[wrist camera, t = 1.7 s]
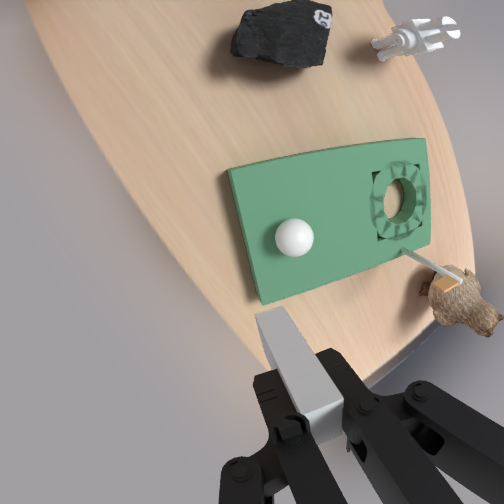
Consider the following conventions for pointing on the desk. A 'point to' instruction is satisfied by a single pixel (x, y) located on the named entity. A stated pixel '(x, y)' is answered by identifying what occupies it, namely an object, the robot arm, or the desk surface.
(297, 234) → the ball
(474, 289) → the figurine
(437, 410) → the robot arm
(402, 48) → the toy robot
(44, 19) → the desk surface
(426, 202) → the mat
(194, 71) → the desk surface
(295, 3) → the rock
